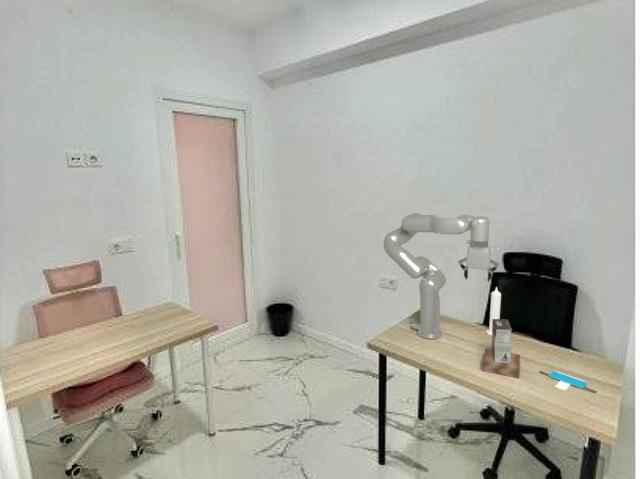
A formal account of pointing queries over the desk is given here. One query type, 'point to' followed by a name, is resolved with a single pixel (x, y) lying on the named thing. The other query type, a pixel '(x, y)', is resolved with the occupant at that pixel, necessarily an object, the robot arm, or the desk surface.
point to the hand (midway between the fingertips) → (477, 279)
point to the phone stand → (567, 380)
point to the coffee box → (501, 340)
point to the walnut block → (501, 365)
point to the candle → (494, 308)
